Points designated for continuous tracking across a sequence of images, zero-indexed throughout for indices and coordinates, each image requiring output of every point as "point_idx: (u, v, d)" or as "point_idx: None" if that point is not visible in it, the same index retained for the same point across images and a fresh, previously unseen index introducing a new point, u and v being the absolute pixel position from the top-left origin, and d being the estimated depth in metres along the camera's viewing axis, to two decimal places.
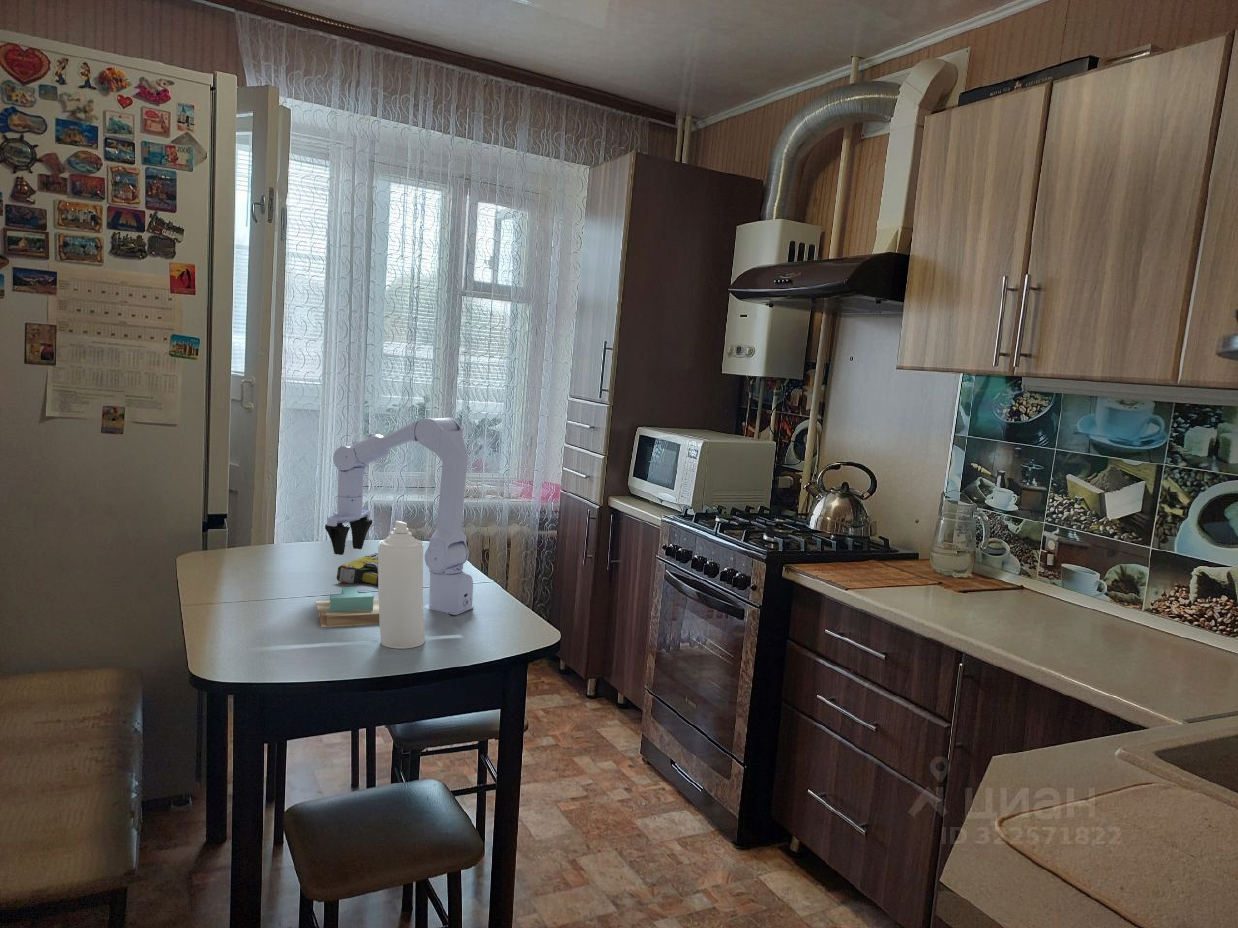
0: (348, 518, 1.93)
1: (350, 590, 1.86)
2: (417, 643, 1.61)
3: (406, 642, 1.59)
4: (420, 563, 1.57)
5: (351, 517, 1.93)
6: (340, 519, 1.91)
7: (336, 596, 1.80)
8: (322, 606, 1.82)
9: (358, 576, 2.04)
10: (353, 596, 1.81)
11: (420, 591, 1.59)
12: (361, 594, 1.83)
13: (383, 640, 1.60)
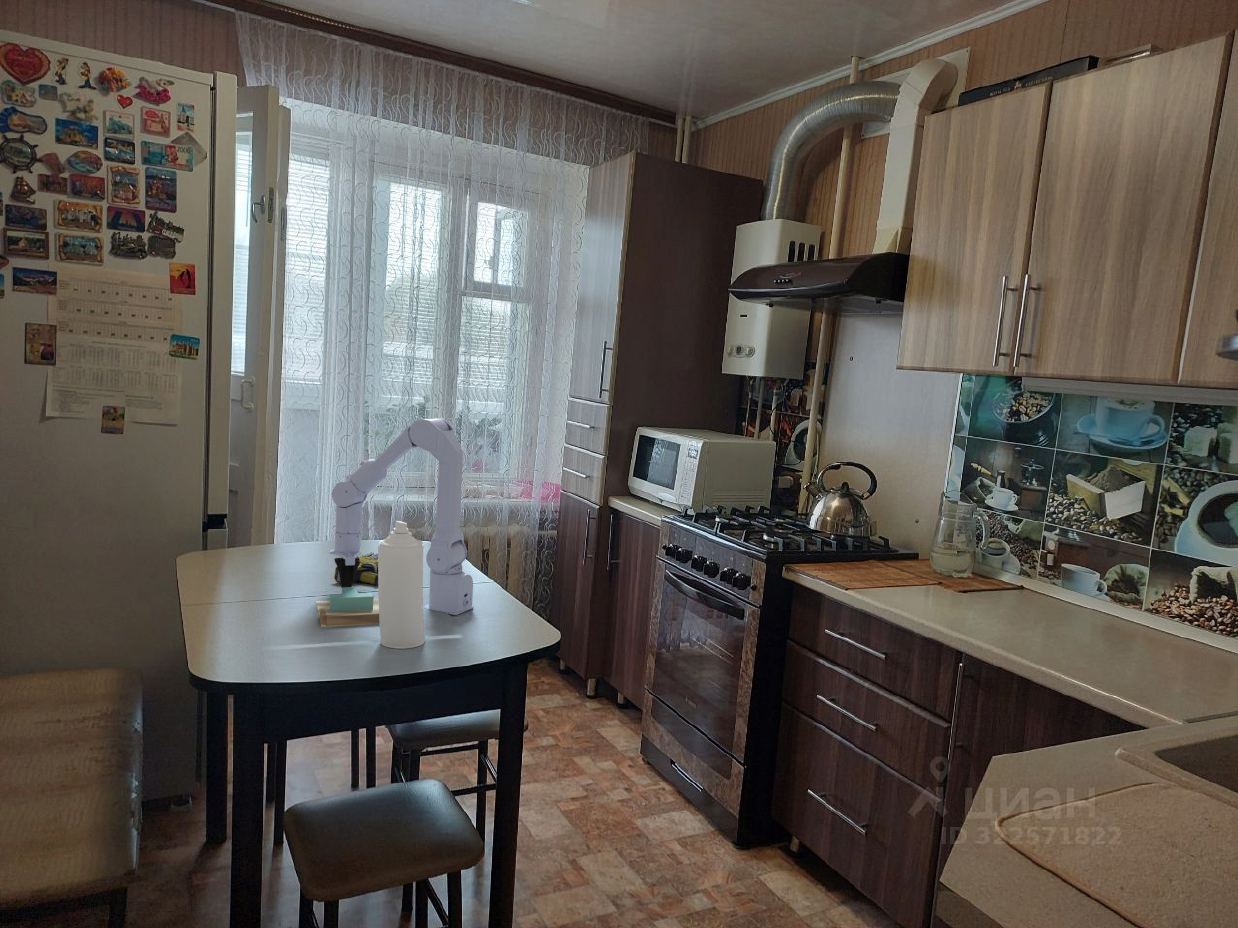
0: (357, 555, 1.90)
1: (350, 590, 1.86)
2: (417, 643, 1.61)
3: (406, 642, 1.59)
4: (420, 563, 1.57)
5: (358, 553, 1.91)
6: (355, 557, 1.88)
7: (336, 596, 1.80)
8: (322, 606, 1.82)
9: (356, 576, 2.04)
10: (353, 596, 1.81)
11: (420, 591, 1.59)
12: (361, 594, 1.83)
13: (383, 640, 1.60)
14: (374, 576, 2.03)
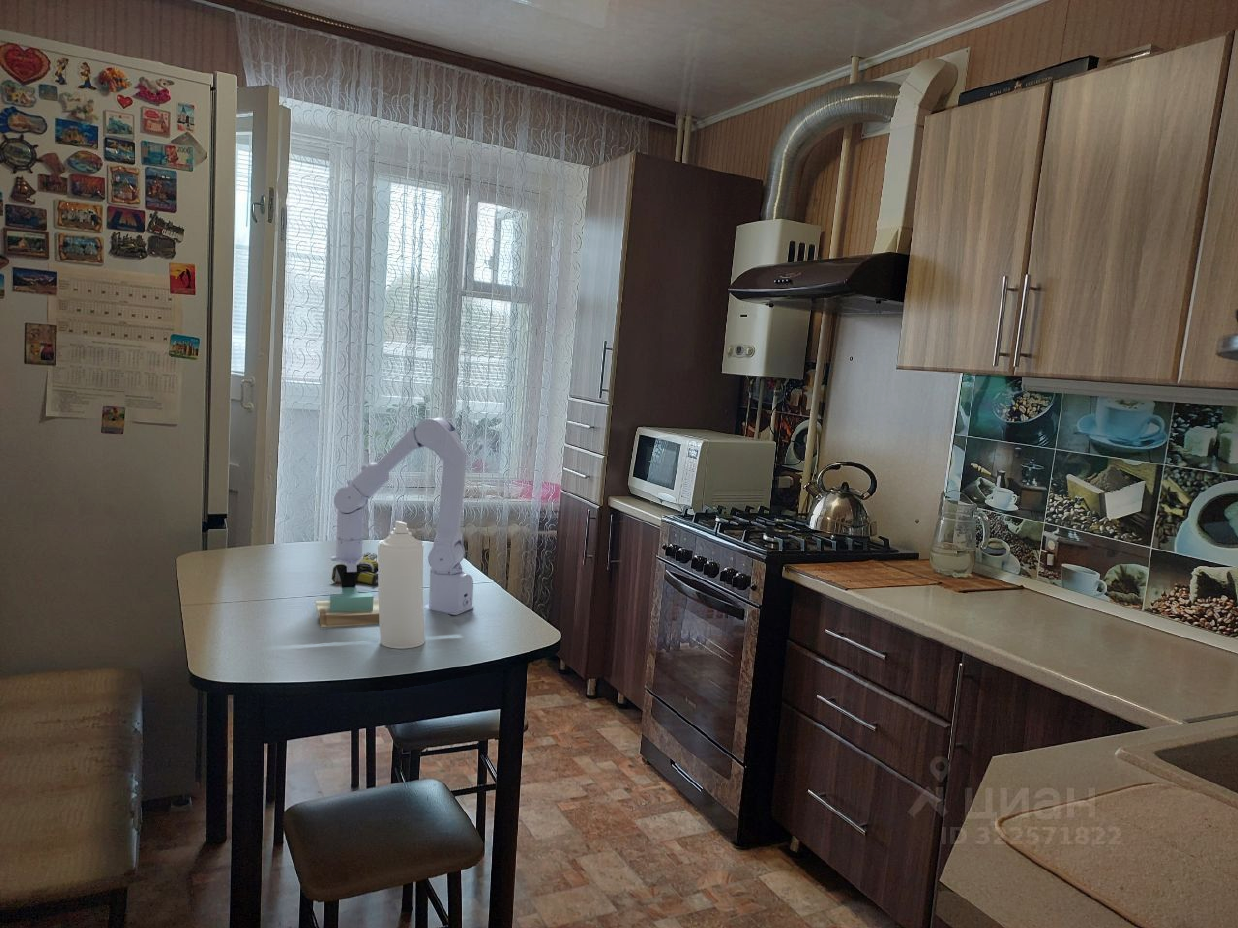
0: (359, 561, 1.86)
1: (350, 590, 1.85)
2: (417, 643, 1.61)
3: (406, 642, 1.59)
4: (420, 563, 1.57)
5: (360, 560, 1.87)
6: (357, 563, 1.84)
7: (336, 596, 1.80)
8: (322, 606, 1.82)
9: None
10: (353, 596, 1.80)
11: (420, 591, 1.59)
12: (361, 594, 1.83)
13: (383, 640, 1.60)
14: (372, 576, 2.03)
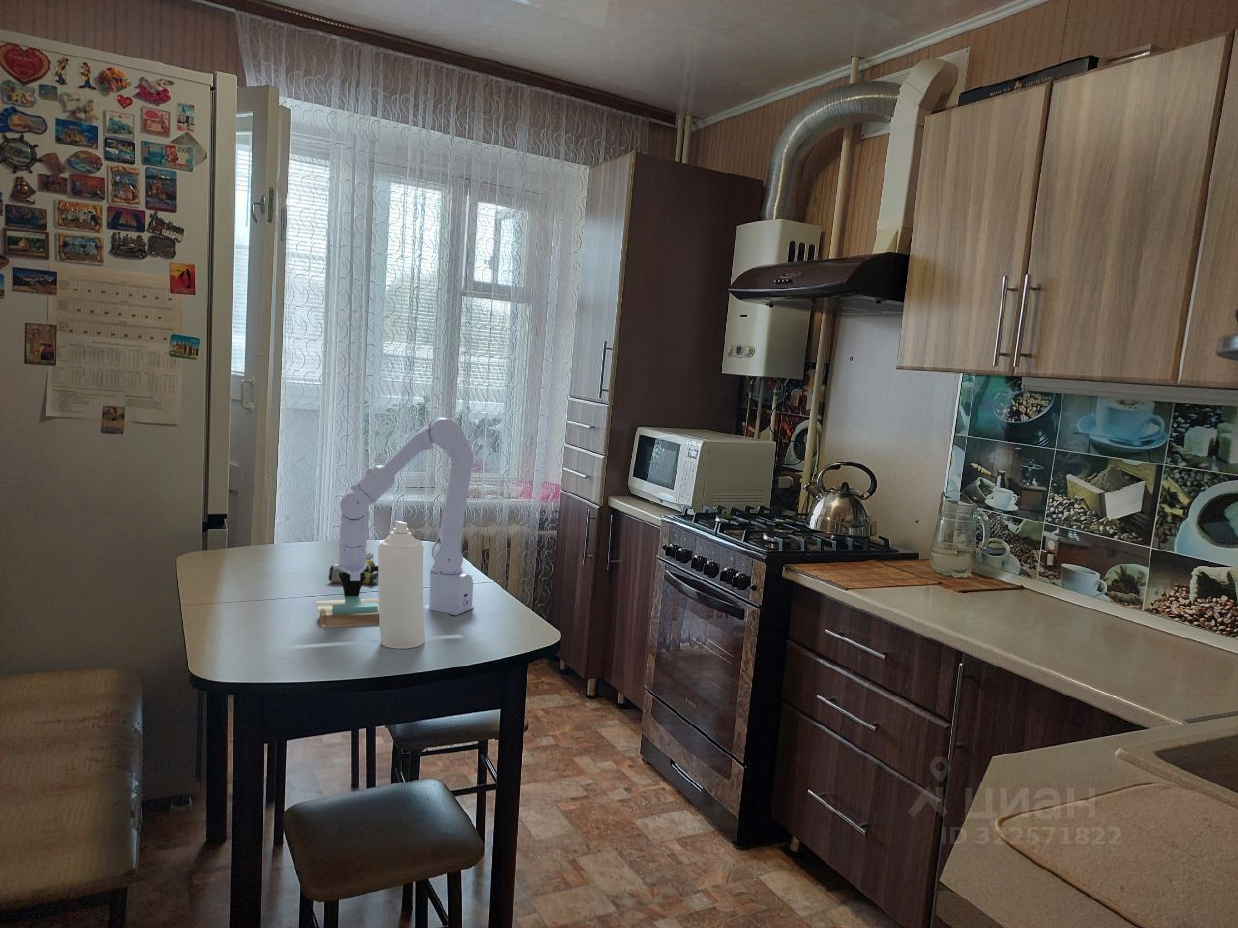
0: (363, 569, 1.79)
1: (353, 599, 1.78)
2: (417, 643, 1.61)
3: (406, 642, 1.59)
4: (420, 563, 1.57)
5: (364, 568, 1.80)
6: (360, 572, 1.77)
7: (339, 606, 1.73)
8: (322, 606, 1.82)
9: None
10: (357, 606, 1.73)
11: (420, 591, 1.59)
12: (365, 604, 1.75)
13: (383, 640, 1.60)
14: (369, 576, 2.03)
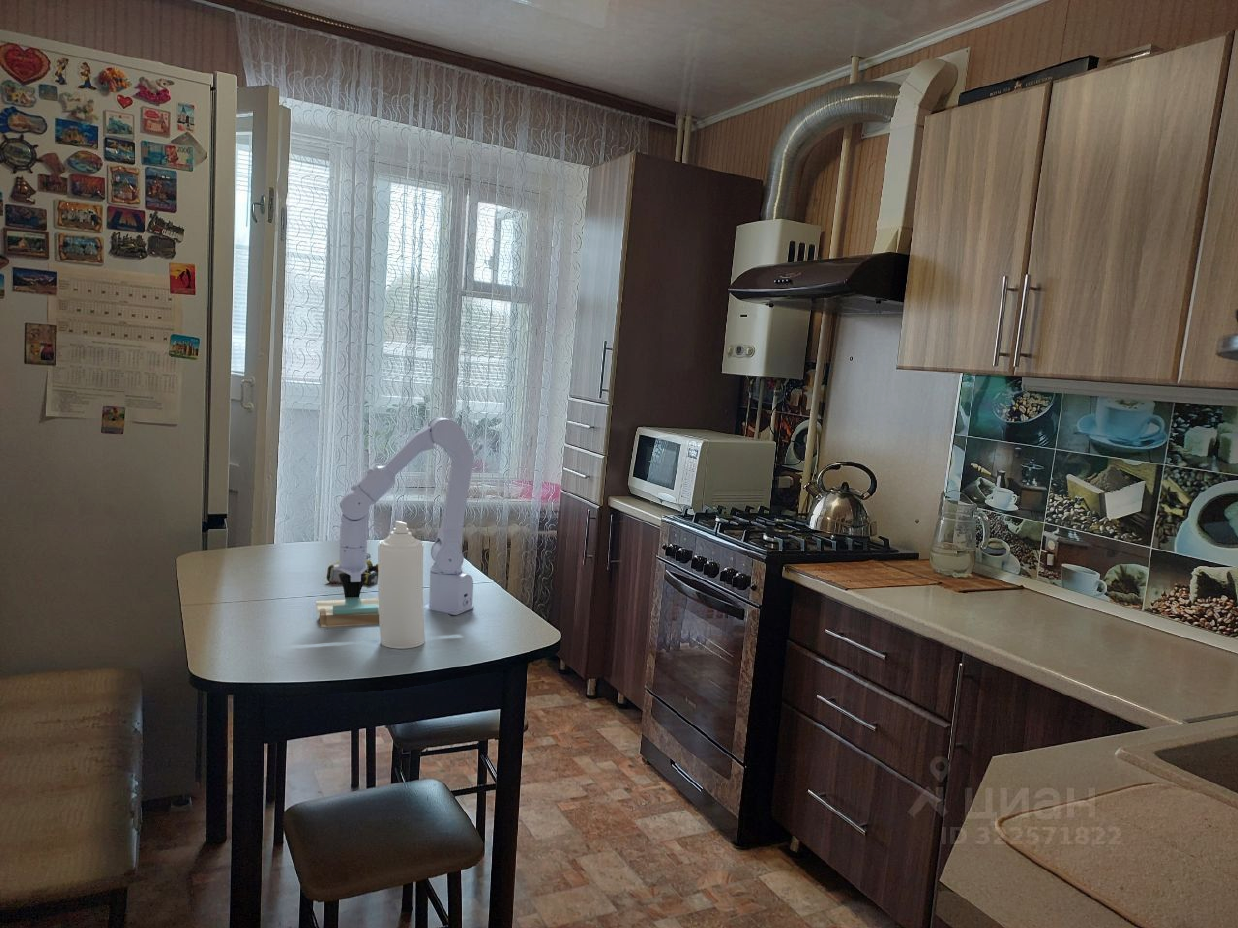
0: (363, 570, 1.78)
1: (354, 601, 1.77)
2: (417, 643, 1.61)
3: (406, 642, 1.59)
4: (420, 563, 1.57)
5: (364, 569, 1.79)
6: (361, 573, 1.76)
7: (339, 607, 1.72)
8: (322, 606, 1.82)
9: None
10: (357, 607, 1.72)
11: (420, 591, 1.59)
12: (366, 605, 1.75)
13: (383, 640, 1.60)
14: (367, 576, 2.03)
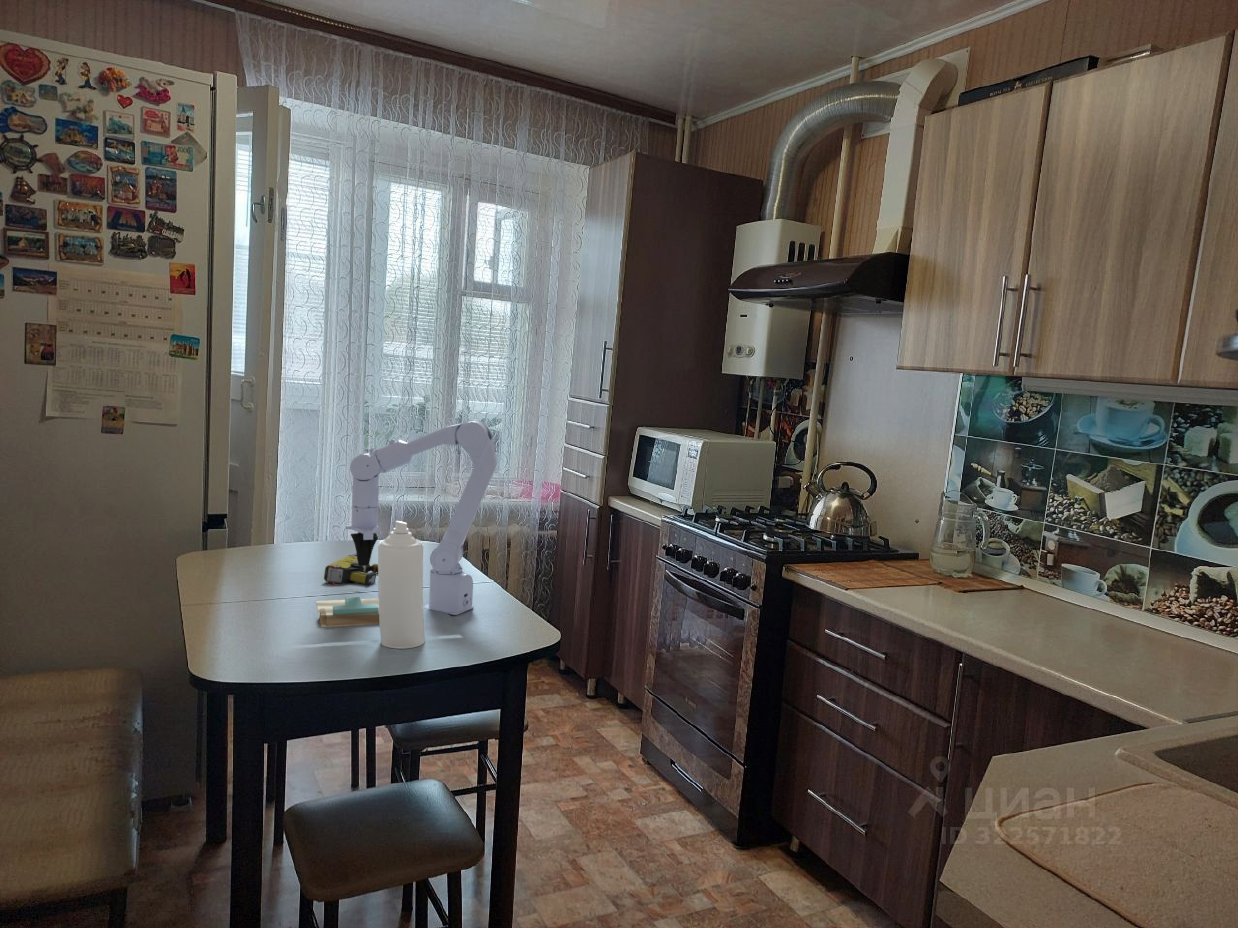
0: (375, 529, 1.83)
1: (354, 601, 1.77)
2: (417, 643, 1.61)
3: (406, 642, 1.59)
4: (420, 563, 1.57)
5: (376, 528, 1.84)
6: (373, 531, 1.81)
7: (339, 607, 1.72)
8: (322, 606, 1.82)
9: (346, 576, 2.03)
10: (357, 607, 1.72)
11: (420, 591, 1.59)
12: (366, 605, 1.75)
13: (383, 640, 1.60)
14: (365, 575, 2.03)
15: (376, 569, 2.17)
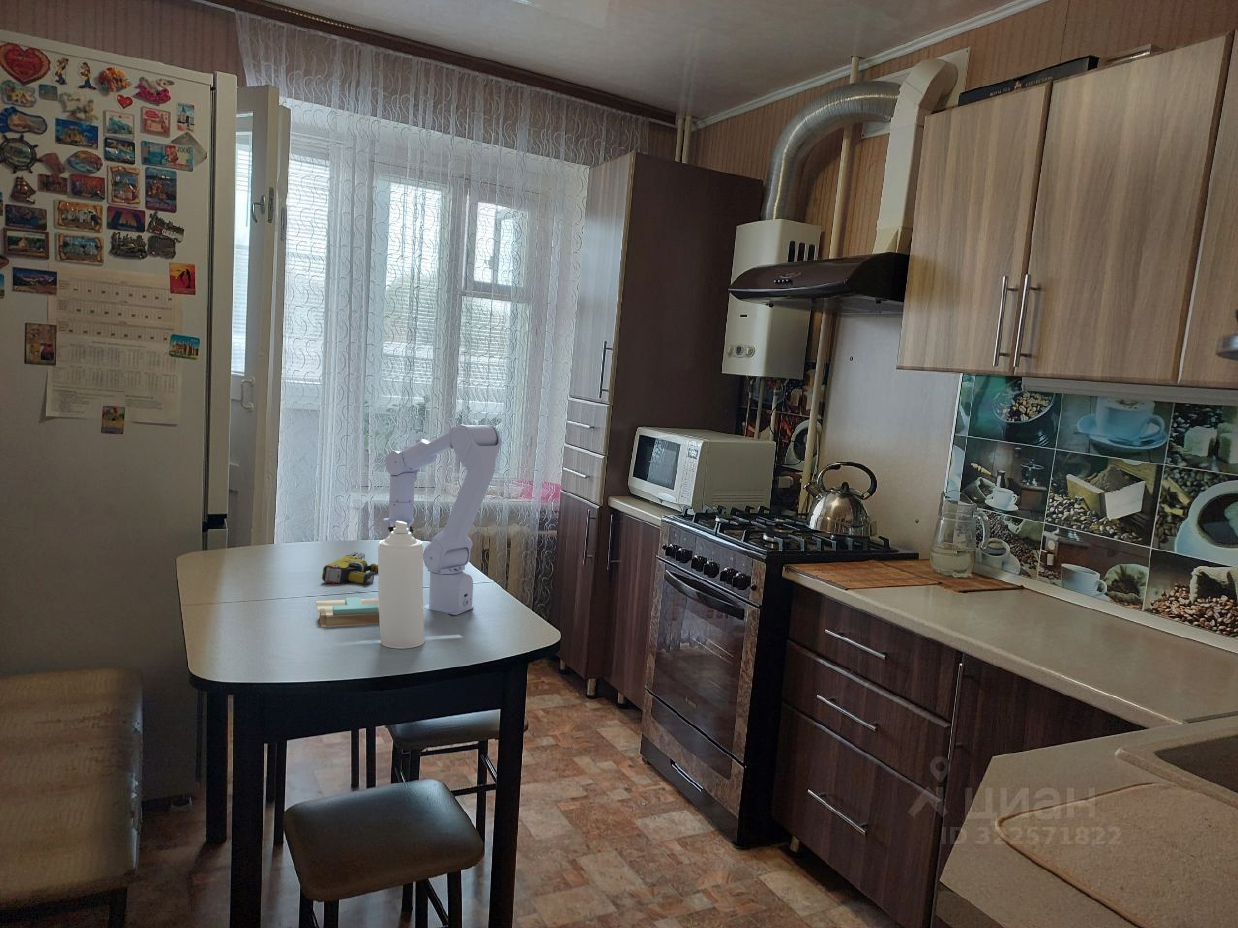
0: (411, 523, 1.94)
1: (354, 601, 1.77)
2: (417, 643, 1.61)
3: (406, 642, 1.59)
4: (420, 563, 1.57)
5: (412, 521, 1.95)
6: (409, 524, 1.92)
7: (339, 607, 1.72)
8: (322, 606, 1.82)
9: (344, 576, 2.03)
10: (357, 607, 1.72)
11: (420, 591, 1.59)
12: (366, 605, 1.75)
13: (383, 640, 1.60)
14: (363, 575, 2.03)
15: (374, 569, 2.17)
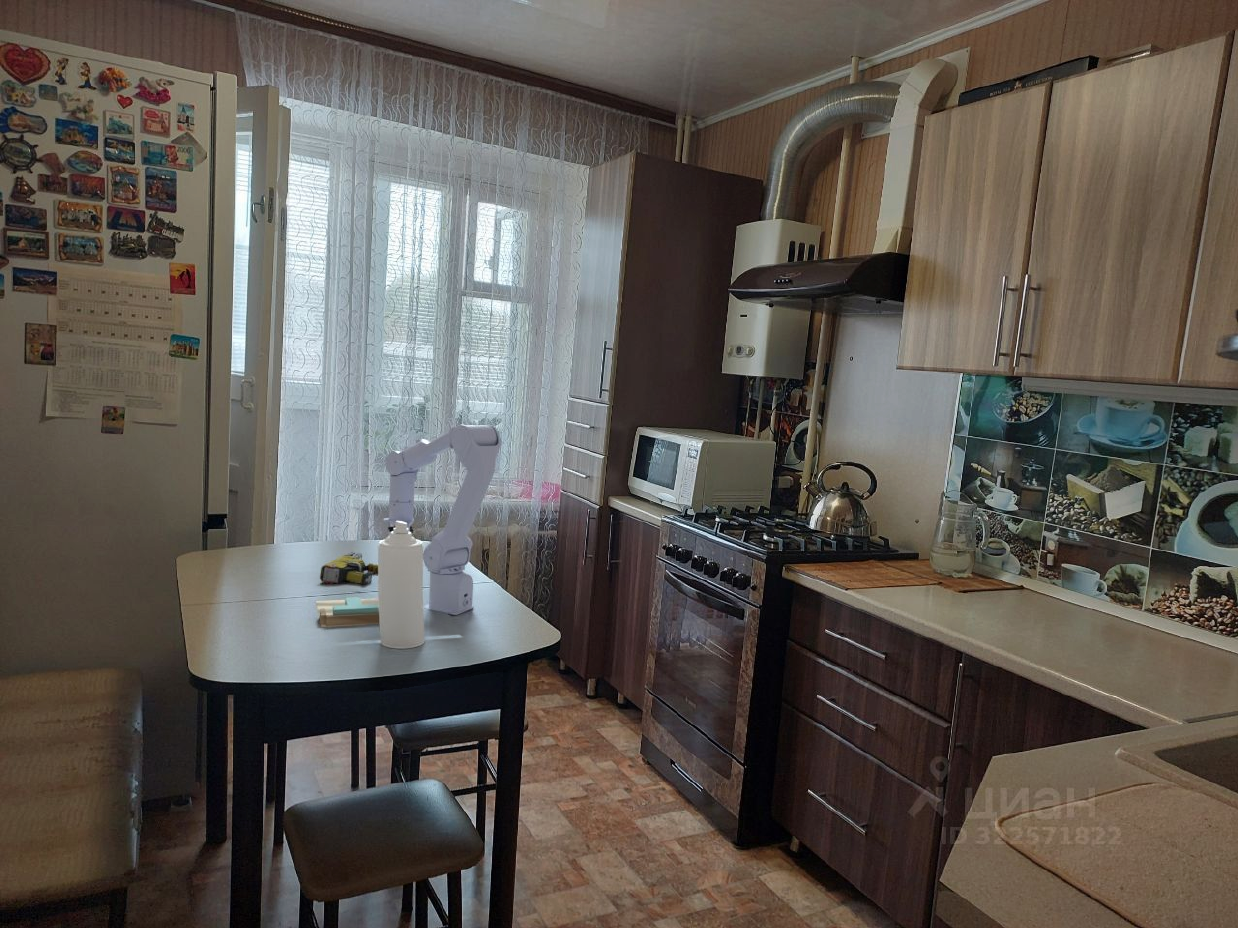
0: (411, 523, 1.94)
1: (354, 601, 1.77)
2: (417, 643, 1.61)
3: (406, 642, 1.59)
4: (420, 563, 1.57)
5: (412, 521, 1.95)
6: (409, 524, 1.92)
7: (339, 607, 1.72)
8: (322, 606, 1.82)
9: (342, 576, 2.03)
10: (357, 607, 1.72)
11: (420, 591, 1.59)
12: (366, 605, 1.75)
13: (383, 640, 1.60)
14: (361, 575, 2.03)
15: (371, 569, 2.17)
